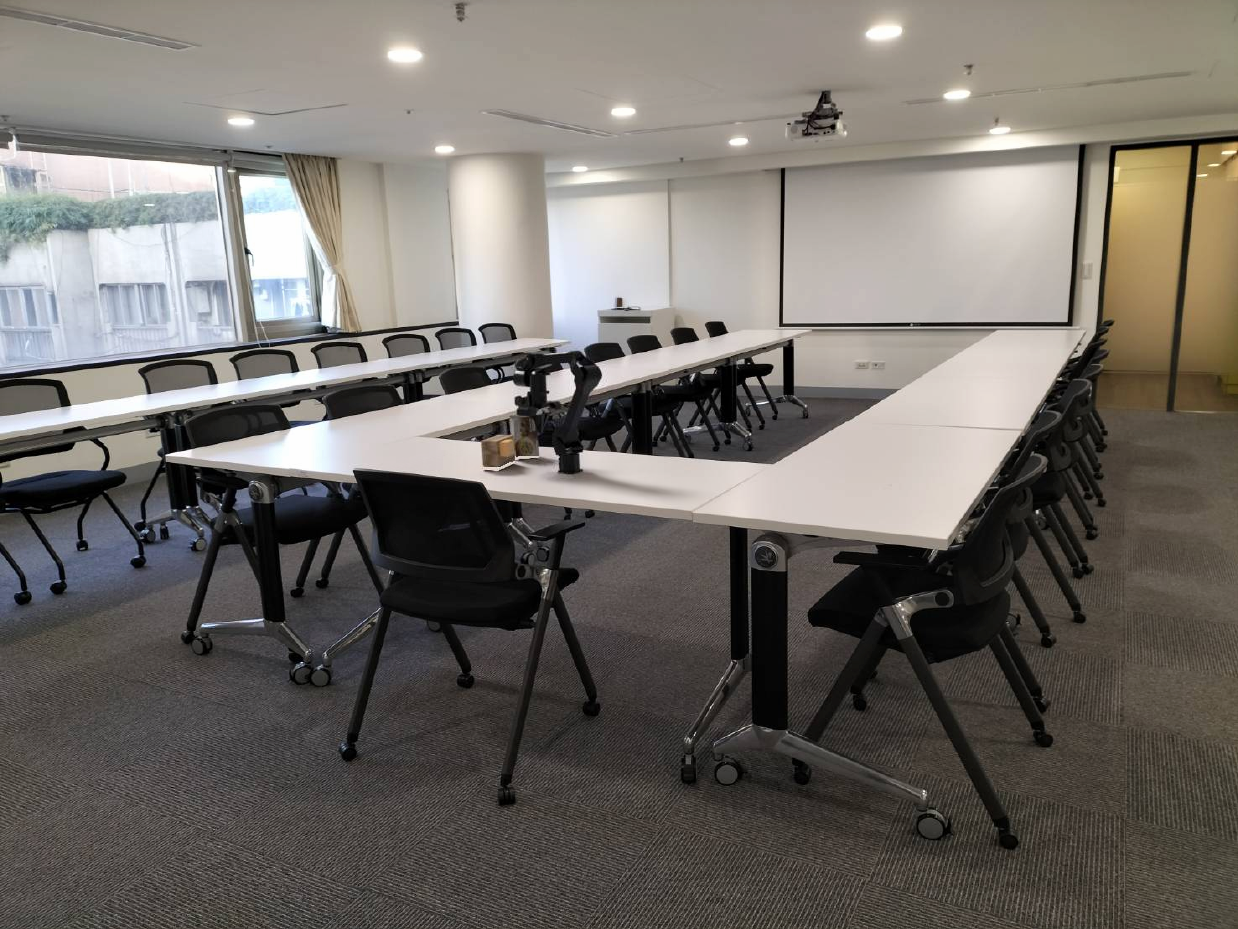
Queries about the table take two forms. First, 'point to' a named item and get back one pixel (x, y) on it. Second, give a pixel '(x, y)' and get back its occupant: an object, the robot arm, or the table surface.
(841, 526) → the table surface
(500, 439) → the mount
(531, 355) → the robot arm
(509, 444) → the knob
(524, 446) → the coffee box
